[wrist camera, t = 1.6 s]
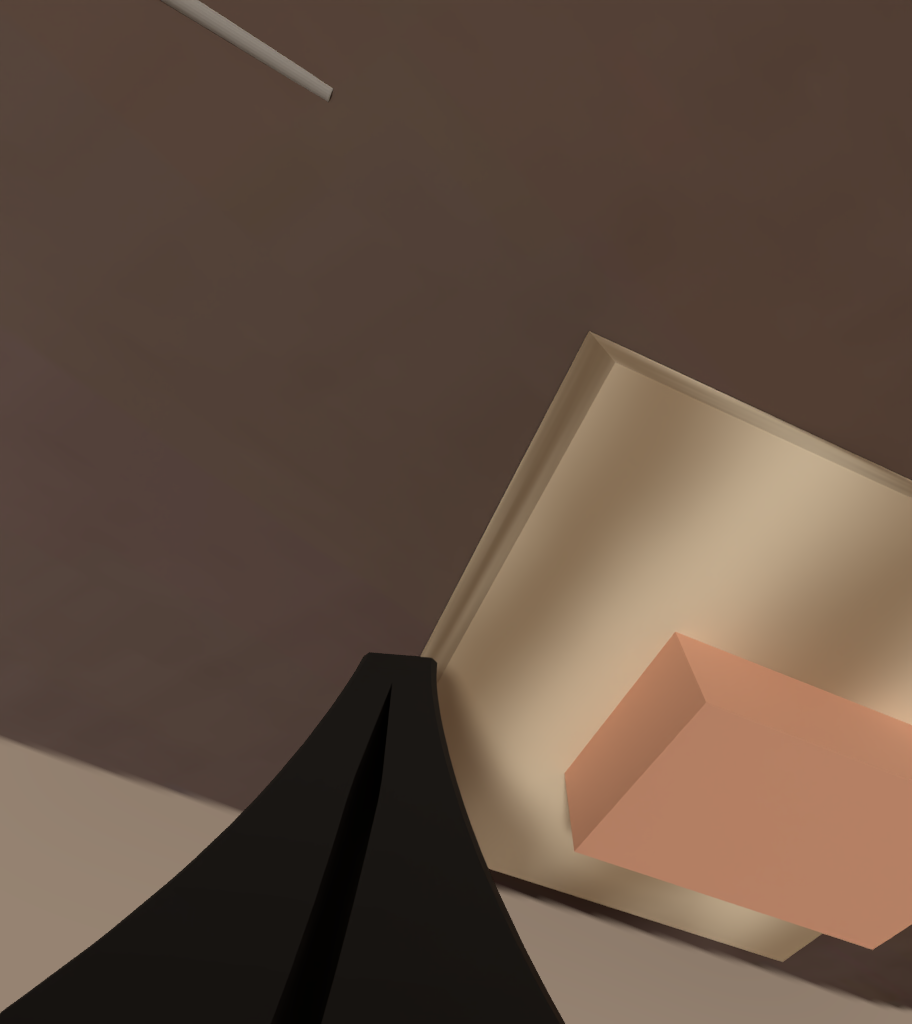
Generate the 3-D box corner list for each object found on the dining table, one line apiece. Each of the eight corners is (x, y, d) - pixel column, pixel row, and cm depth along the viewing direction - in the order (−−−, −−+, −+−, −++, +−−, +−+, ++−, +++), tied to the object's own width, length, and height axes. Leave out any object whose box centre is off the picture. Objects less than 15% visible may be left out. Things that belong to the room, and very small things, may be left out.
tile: (564, 773, 14) (574, 851, 13) (675, 631, 12) (706, 702, 10) (829, 865, 15) (872, 949, 14) (975, 750, 13) (1051, 833, 11)
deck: (377, 739, 18) (357, 827, 16) (588, 331, 12) (615, 362, 10) (744, 864, 20) (782, 962, 18) (1091, 563, 14) (1230, 644, 11)
